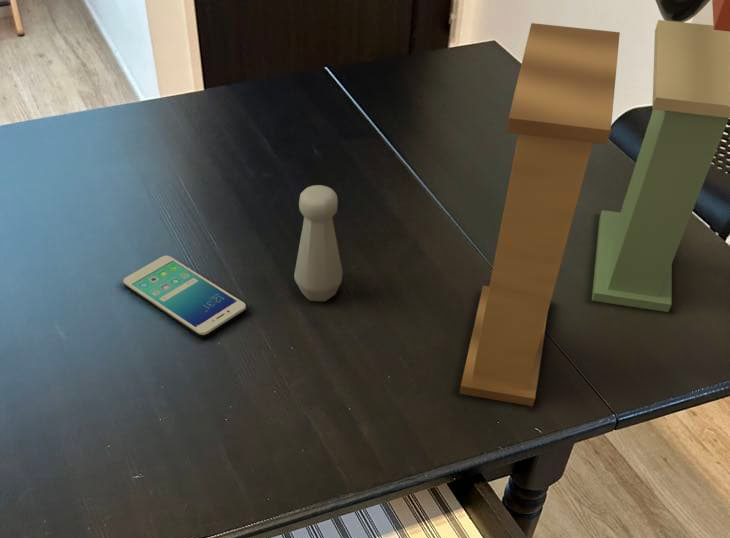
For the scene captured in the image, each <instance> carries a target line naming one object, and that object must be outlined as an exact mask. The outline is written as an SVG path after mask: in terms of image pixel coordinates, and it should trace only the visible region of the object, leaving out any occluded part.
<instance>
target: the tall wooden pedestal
mask: <svg viewBox="0 0 730 538" xmlns="http://www.w3.org/2000/svg"><path fill="white" fill-rule="evenodd" d="M620 35H621V33H620V32H619V31H613V30H611V31H610V30H603V29H602V30H601V29H594V28H593V29H591V28H582V27H575V26H574V27H573V26H562V25H554V24H543V23H535V22H531V24H530V27H529V31H528V36H527V40H526V43H525V48H524V52H523V56H522V61H521V65H520V69H519V73H518V78H517V82H516V86H515V90H514V94H513V98H512V102H511V106H510V110H509V115H508V120H507V126H506V130H505V131H506V133H510V134H517V140H516V145H515V151H514V155H513V162H512V167H511V172H510V177H509V182H508V186H507V187H508V188H507V192H506V197H505V203H504V207H503V208H504V209H503V214H502V219H501V224H500V228H499V229H500V230H499V233H498V240H497V245H496V250H495V255H494V260H493V265H492V271H491V276H490V282H489V285H482V287H481V294H480V298H479V302H478V307H477V310H476V316H475V320H474V324H473V329H472V334H471V337H470V343H469V346H468V351H467V356H466V362H465V364H464V368H463V369H464V370H463V374H462V378H461V383H460V388H459V395H463V396H464V395H465V396H470V397H476V398H482V399H489V400H493V401H499V402H504V403H505V402H506V403H511V404H515V405H516V404H517V405H521V406H528V407H534V404H535V401H536V397H537V389H538V383H539V377H540V376H539V375H540V369H541V361H542V354H543V347H544V340H545V333H546V326H547V319H548V313H549V309H550V305H551V303H552V298H553V294H554V290H555V288H556V287H555V286H556V283H557V279H558V275H559V272H560V268H561V264H562V262H563V261H562V260H563V256H564V253H565V249H566V246H567V242H568V238H569V235H570V230H571V228H572V223H573V219H574V216H575V212H576V210H577V209H576V208H577V204H578V201H579V197H580V193H581V190H582V186H583V183H584V178H585V176H586V172H587V167H588V164H589V160H590V156H591V152H592V148H593V145H594V144H598V145H604V146H606V145H607V144H608V142H609V138H610V136H611V132H612V123H613V111H614V100H615V90H616V89H615V88H616V78H617V68H618V57H619V45H620V44H619V43H620Z"/></svg>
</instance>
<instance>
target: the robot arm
mask: <svg viewBox="0 0 730 538" xmlns="http://www.w3.org/2000/svg"><path fill="white" fill-rule="evenodd" d="M710 1H711V0H655V2H656V5H657V8H658V10H659V13H660V16H661V17H662V20H664V21H674V22H684V23H687V22H688V21H690V20H691V19H693V18H695V16H696V15H698V14H699V13H700V12H701V11H702V10H703V9H704V8H705V7H706V6H707V5H708V4H709V3H710Z"/></svg>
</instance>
